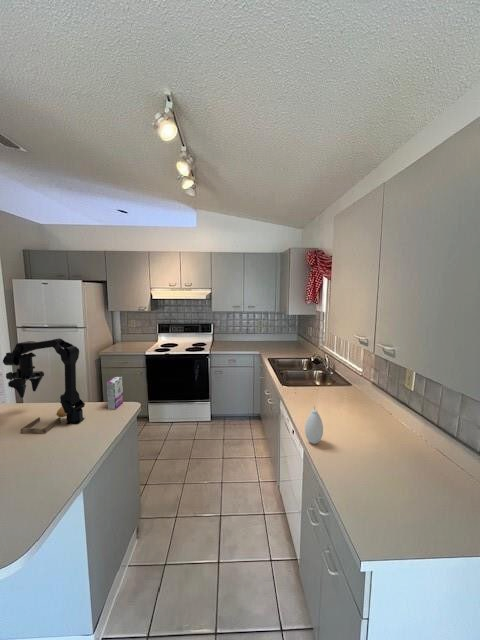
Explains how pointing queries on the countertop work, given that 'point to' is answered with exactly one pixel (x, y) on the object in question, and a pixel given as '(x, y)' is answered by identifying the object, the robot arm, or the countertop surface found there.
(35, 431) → the wooden bracket
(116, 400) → the candy bar box
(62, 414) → the pastry
